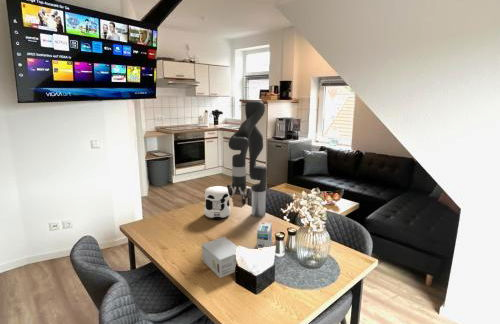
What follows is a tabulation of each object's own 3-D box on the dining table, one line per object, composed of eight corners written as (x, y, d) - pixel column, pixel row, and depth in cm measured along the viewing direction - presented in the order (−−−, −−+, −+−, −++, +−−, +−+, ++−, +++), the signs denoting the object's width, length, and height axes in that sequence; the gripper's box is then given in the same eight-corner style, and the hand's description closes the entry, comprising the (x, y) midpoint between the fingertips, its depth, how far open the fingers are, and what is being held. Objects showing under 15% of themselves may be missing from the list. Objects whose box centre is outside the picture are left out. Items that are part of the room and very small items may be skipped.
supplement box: (201, 261, 141) (201, 243, 139) (224, 252, 148) (224, 235, 146) (220, 278, 128) (219, 259, 125) (244, 268, 135) (244, 250, 133)
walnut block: (237, 203, 163) (237, 191, 161) (245, 204, 161) (245, 192, 159) (233, 206, 158) (232, 194, 157) (241, 207, 156) (241, 195, 155)
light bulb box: (269, 250, 150) (269, 231, 148) (256, 249, 152) (256, 230, 149) (272, 240, 160) (272, 222, 158) (260, 239, 162) (260, 221, 159)
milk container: (220, 208, 205) (219, 184, 201) (236, 216, 192) (235, 190, 188) (199, 215, 193) (198, 189, 189) (214, 223, 181) (213, 196, 177)
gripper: (254, 173, 156) (253, 203, 160) (230, 170, 161) (230, 199, 165) (248, 177, 149) (248, 208, 153) (223, 174, 155) (224, 204, 159)
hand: (239, 203), depth 159 cm, fingers closed on walnut block, 5 cm apart
